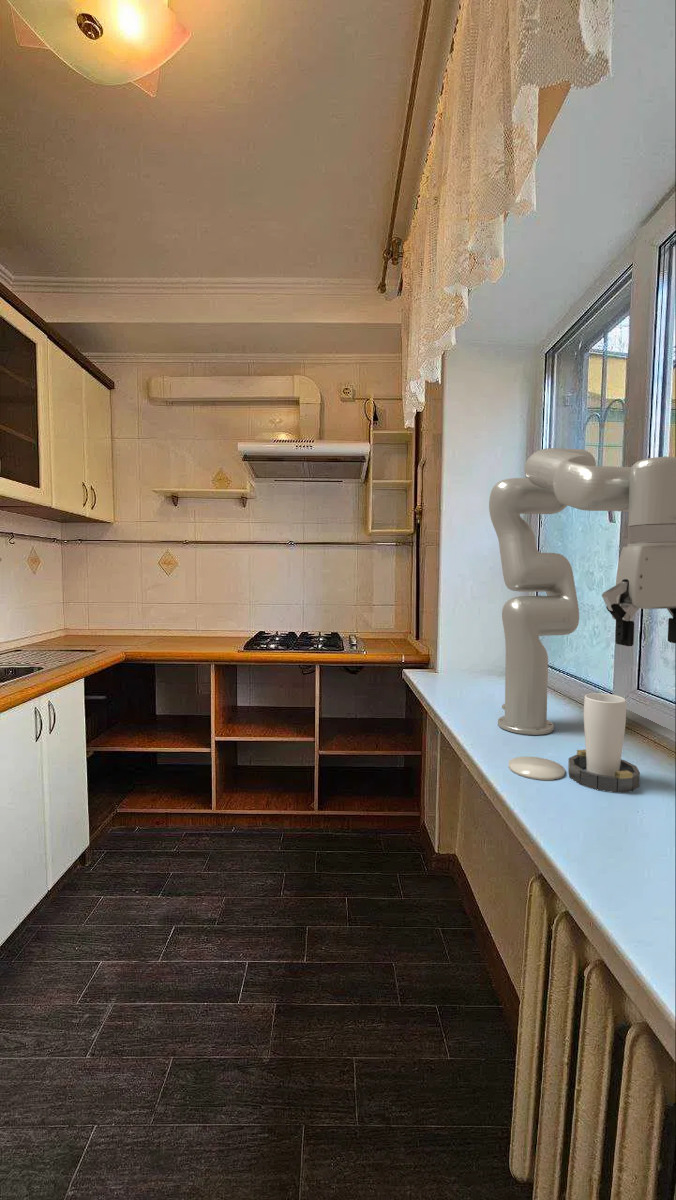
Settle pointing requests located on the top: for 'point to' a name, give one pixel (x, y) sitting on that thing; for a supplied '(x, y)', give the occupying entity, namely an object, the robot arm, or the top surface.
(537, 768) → the disc
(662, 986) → the top surface
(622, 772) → the collar
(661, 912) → the top surface
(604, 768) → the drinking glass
